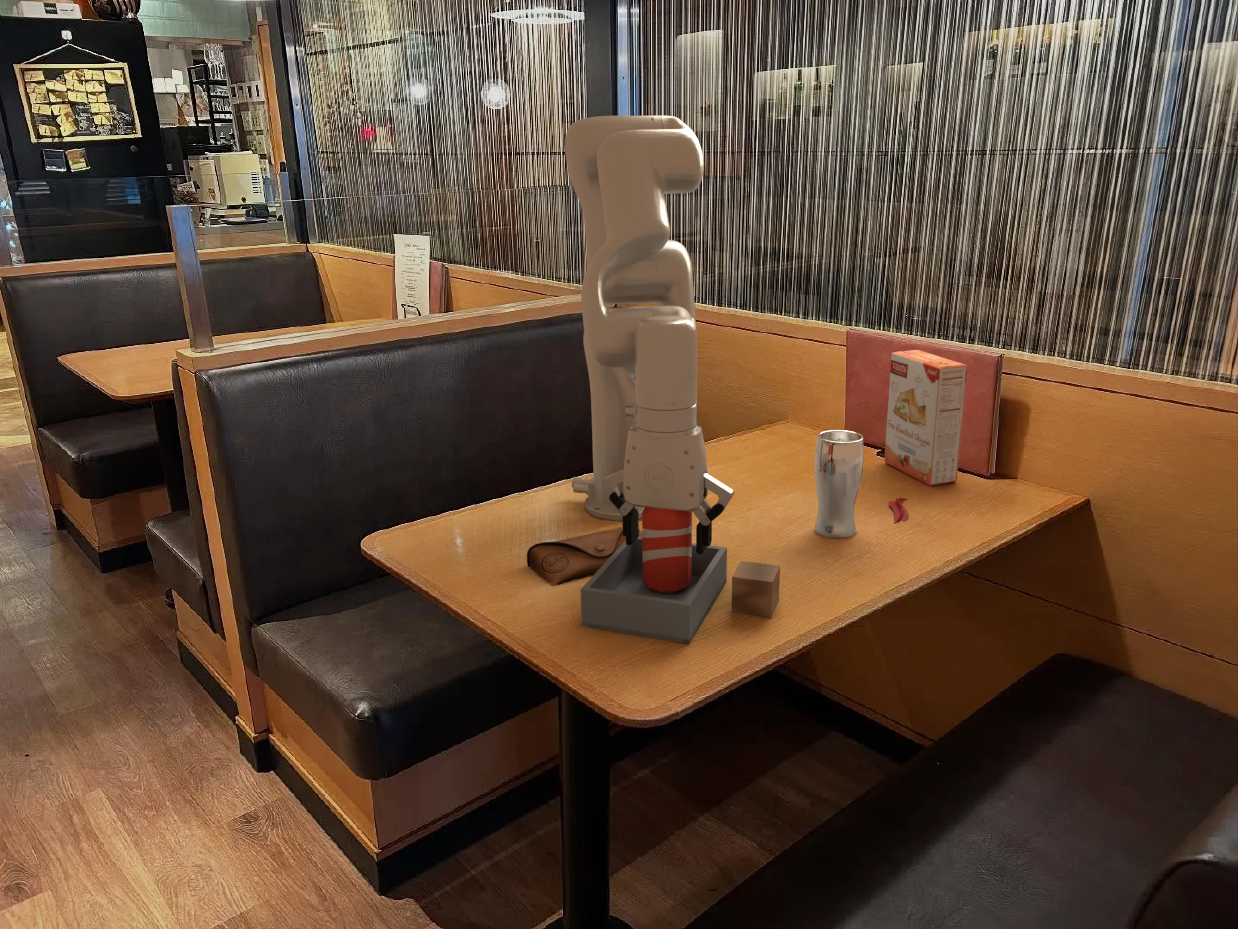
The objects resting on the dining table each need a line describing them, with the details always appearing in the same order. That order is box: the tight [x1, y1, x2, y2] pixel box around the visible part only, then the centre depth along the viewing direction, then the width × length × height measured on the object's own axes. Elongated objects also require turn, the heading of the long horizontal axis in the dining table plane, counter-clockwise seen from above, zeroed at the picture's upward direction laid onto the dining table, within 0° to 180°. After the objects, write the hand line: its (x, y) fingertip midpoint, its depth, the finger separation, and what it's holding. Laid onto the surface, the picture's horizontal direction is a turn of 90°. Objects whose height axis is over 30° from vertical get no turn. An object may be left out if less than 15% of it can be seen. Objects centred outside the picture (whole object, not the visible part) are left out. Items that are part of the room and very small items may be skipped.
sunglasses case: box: [526, 526, 642, 587], centre depth 130 cm, size 18×7×7 cm
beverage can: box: [641, 507, 693, 593], centre depth 119 cm, size 6×6×12 cm
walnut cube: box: [730, 560, 781, 619], centre depth 115 cm, size 5×5×5 cm
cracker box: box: [883, 349, 968, 487], centre depth 161 cm, size 14×6×21 cm, turn 17°
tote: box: [579, 537, 728, 645], centre depth 117 cm, size 14×18×5 cm
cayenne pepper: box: [888, 497, 909, 524], centre depth 146 cm, size 12×5×2 cm, turn 146°
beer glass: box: [814, 429, 864, 540], centre depth 137 cm, size 7×7×15 cm
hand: (666, 545), depth 119 cm, fingers open, 9 cm apart
